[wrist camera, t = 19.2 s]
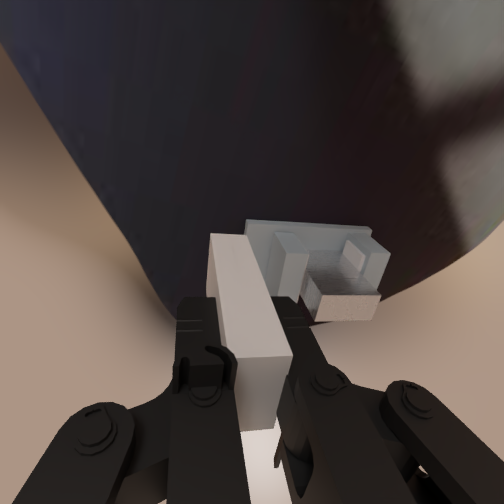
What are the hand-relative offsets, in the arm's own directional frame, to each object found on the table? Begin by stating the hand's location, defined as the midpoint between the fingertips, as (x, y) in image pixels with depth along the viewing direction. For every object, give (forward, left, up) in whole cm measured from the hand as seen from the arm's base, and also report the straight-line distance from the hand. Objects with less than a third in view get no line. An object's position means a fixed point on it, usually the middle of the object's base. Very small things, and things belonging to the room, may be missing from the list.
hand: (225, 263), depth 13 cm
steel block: (+15, +18, -28) cm, 37 cm away
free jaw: (+17, +13, -28) cm, 35 cm away
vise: (+15, +17, -29) cm, 37 cm away
